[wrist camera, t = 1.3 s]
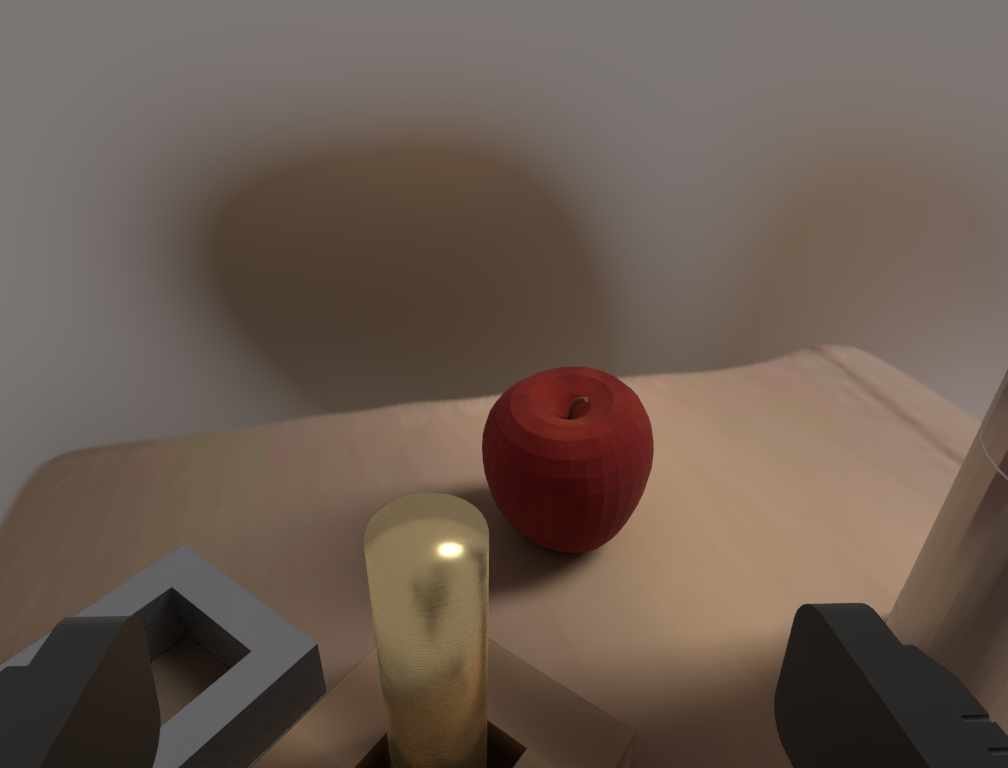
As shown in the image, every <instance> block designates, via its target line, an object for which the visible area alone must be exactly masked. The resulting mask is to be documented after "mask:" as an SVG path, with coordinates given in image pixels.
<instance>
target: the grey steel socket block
mask: <svg viewBox="0 0 1008 768" xmlns="http://www.w3.org/2000/svg"><path fill="white" fill-rule="evenodd" d="M98 616H137V617H138V618H139V619H140V620H141V622H142V624H143V627H144V631H145V636H146V641H147V647H148V652H149V657H150V662H151V661H153V660H154V659H155V658H156V657H158V656H159V655H160V654H162V653H163V652H164V651H166V650H167V649H168V648H170V647H171V646H172V645H174V644H175V643H176V642H178V641H179V640H180V639H182V638H183V637H184V636H185V635H187V634H189V635H190V636H192V637H193V638H194V639H195V640H196V641H197V642H199V643H200V644H201V645H202V646H203V647H205V648H206V649H207V650H208V651H209V652H210V653H212V654H213V655H214V656H215V657H216V658H218V659H219V660H220V661H221V662H222V663H224V664H225V665H226V666H227V667H228V668H229V669H230V670H229V671H227V672H226V673H225V674H224V675H223V676H221V677H220V678H219V679H218V680H217V681H215V682H214V683H213V684H212V685H211V686H209V687H208V688H207V689H206V690H205V691H203V692H202V693H201V694H200V695H199V696H197V697H196V698H195V699H194V700H193V701H191V702H190V703H189V704H188V705H187V706H185V707H184V708H183V709H182V710H181V711H179V712H178V713H177V714H176V715H175V716H173V717H172V718H171V719H170V720H169V721H168V722H166V723H165V724H164V725H163V726H162V727H160V737H159V744H158V749H157V754H156V758H155V761H154V765H153V768H246V767H247V766H248V765H249V764H250V763H251V762H252V761H254V760H255V759H256V758H257V757H258V756H259V755H260V754H261V753H262V752H263V751H264V750H265V749H266V748H267V747H268V746H269V745H270V744H271V743H272V742H273V741H274V740H275V739H276V738H277V737H278V736H280V735H281V734H282V733H283V732H284V731H285V730H286V729H287V728H288V727H289V726H290V725H291V724H292V723H293V722H294V721H295V720H296V719H297V718H298V717H299V716H300V715H301V714H302V713H303V712H305V711H306V710H307V709H308V708H309V707H310V706H311V705H312V704H313V703H314V702H315V701H316V700H317V699H318V698H319V697H320V696H321V695H322V694H323V693H324V692H325V691H326V686H325V680H324V675H323V670H322V665H321V660H320V655H319V650H318V645H317V643H316V642H315V641H313V640H312V639H311V638H309V637H308V636H307V635H305V634H304V633H303V632H301V631H300V630H299V629H297V628H296V627H295V626H293V625H292V624H291V623H289V622H288V621H286V620H285V619H284V618H282V617H281V616H280V615H278V614H277V613H276V612H274V611H273V610H272V609H270V608H269V607H268V606H266V605H265V604H264V603H262V602H261V601H260V600H258V599H257V598H256V597H254V596H253V595H252V594H250V593H249V592H248V591H246V590H245V589H244V588H242V587H241V586H240V585H238V584H237V583H236V582H234V581H233V580H232V579H230V578H229V577H228V576H226V575H225V574H224V573H222V572H221V571H220V570H218V569H217V568H216V567H214V566H213V565H212V564H210V563H209V562H208V561H206V560H205V559H204V558H202V557H201V556H200V555H198V554H197V553H196V552H194V551H193V550H192V549H190V548H189V547H188V546H186V545H185V544H183V545H182V546H180V547H179V548H177V549H176V550H174V551H173V552H171V553H170V554H168V555H167V556H165V557H164V558H162V559H161V560H159V561H157V562H156V563H154V564H153V565H151V566H150V567H148V568H147V569H145V570H144V571H142V572H141V573H139V574H138V575H136V576H135V577H133V578H132V579H130V580H129V581H127V582H126V583H124V584H123V585H121V586H120V587H118V588H117V589H115V590H114V591H112V592H111V593H109V594H108V595H106V596H105V597H103V598H102V599H100V600H99V601H97V602H96V603H94V604H92V605H91V606H89V607H88V608H86V609H85V610H83V611H82V612H80V613H79V614H77V615H76V616H74V617H98ZM50 633H51V632H50ZM50 633H49V634H47V635H46V636H44V637H43V638H41V639H40V640H38V641H37V642H35V643H34V644H32V645H30V646H29V647H27V648H26V649H24V650H23V651H21V652H20V653H18V654H17V655H15V656H14V657H12V658H11V659H9V660H8V661H6V662H5V663H3V664H2V665H0V671H2V670H3V669H4V668H5V667H7V666H28V665H29V663H30V662H31V660H32V659H33V657H34V656H35V655H36V653H37V652H38V650H39V649H40V647H41V646H42V645H43V643H44V642H45V640H46V639H47V637H48V636H49V635H50Z"/></svg>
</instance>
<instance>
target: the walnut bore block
mask: <svg viewBox="0 0 1008 768" xmlns="http://www.w3.org/2000/svg"><path fill="white" fill-rule="evenodd" d="M635 736H636V732H635V731H633V730H631V729H630V728H628V727H627V726H625V725H624V724H622V723H620V722H619V721H617V720H616V719H614V718H613V717H611V716H609V715H608V714H606V713H605V712H603V711H602V710H600V709H598V708H597V707H595V706H594V705H592V704H591V703H589V702H587V701H586V700H584V699H583V698H581V697H580V696H578V695H576V694H575V693H573V692H572V691H570V690H569V689H567V688H565V687H564V686H562V685H561V684H559V683H558V682H556V681H554V680H553V679H551V678H550V677H548V676H547V675H545V674H543V673H542V672H540V671H539V670H537V669H536V668H534V667H533V666H531V665H529V664H528V663H526V662H525V661H523V660H522V659H520V658H518V657H517V656H515V655H514V654H512V653H511V652H509V651H507V650H506V649H504V648H503V647H501V646H500V645H498V644H496V643H495V642H493V641H492V640H490V639H489V638H488V692H487V768H629V765H630V760H631V755H632V750H633V746H634V741H635ZM251 768H391V760H390V752H389V744H388V736H387V728H386V719H385V711H384V703H383V695H382V687H381V679H380V671H379V663H378V655H377V647H375V648H374V649H373V650H372V651H371V652H370V653H369V654H368V655H367V656H366V657H365V658H364V659H363V660H362V661H361V662H360V663H359V664H358V665H357V666H356V667H355V668H353V669H352V670H351V671H350V672H349V673H348V674H347V675H346V676H345V677H344V678H343V679H342V680H341V681H340V682H339V683H338V684H337V685H336V686H335V687H334V688H333V689H332V690H331V691H330V692H329V693H328V694H327V695H326V696H324V697H323V698H322V699H321V700H320V701H319V702H318V703H317V704H316V705H315V706H314V707H313V708H312V709H311V710H310V711H309V712H308V713H307V714H306V715H305V716H304V717H303V718H302V719H301V720H300V721H299V722H298V723H297V724H295V725H294V726H293V727H292V728H291V729H290V730H289V731H288V732H287V733H286V734H285V735H284V736H283V737H282V738H281V739H280V740H279V741H278V742H277V743H276V744H275V745H274V746H273V747H272V748H271V749H270V750H269V751H268V752H267V753H265V754H264V755H263V756H262V757H261V758H260V759H259V760H258V761H257V762H256V763H255V764H254V765H253V766H252V767H251Z"/></svg>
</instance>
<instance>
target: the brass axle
mask: <svg viewBox="0 0 1008 768" xmlns="http://www.w3.org/2000/svg"><path fill="white" fill-rule="evenodd" d="M363 541H364V551H365V559H366V567H367V575H368V583H369V591H370V599H371V607H372V615H373V623H374V631H375V639H376V647H377V655H378V663H379V671H380V679H381V687H382V695H383V703H384V711H385V719H386V728H387V736H388V744H389V752H390V760H391V768H487V692H488V597H489V528H488V525H487V522H486V520H485V518H484V516H483V515H482V513H481V512H480V511H479V510H478V509H477V508H476V507H475V506H474V505H472V504H471V503H469V502H468V501H466V500H464V499H462V498H460V497H457V496H454V495H450V494H445V493H437V492H424V493H416V494H411V495H407V496H404V497H401V498H399V499H396V500H394V501H392V502H390V503H388V504H387V505H385V506H384V507H382V508H381V509H380V510H379V511H378V512H377V513H376V514H375V515H374V516H373V517H372V518H371V520H370V521H369V523H368V525H367V527H366V530H365V533H364V540H363Z"/></svg>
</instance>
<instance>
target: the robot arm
mask: <svg viewBox="0 0 1008 768" xmlns="http://www.w3.org/2000/svg"><path fill="white" fill-rule="evenodd" d="M774 709H775V719H776V725H777V730H778V733H779V737H780V740H781V743H782V745H783V747H784V750H785V752H786V754H787V756H788V758H789V760H790V761H791V763H792V765H793V767H794V768H1008V369H1007V371H1006V373H1005V376H1004V378H1003V380H1002V382H1001V384H1000V386H999V388H998V390H997V392H996V394H995V396H994V398H993V401H992V403H991V405H990V407H989V409H988V411H987V413H986V415H985V417H984V419H983V421H982V424H981V427H980V429H979V431H978V433H977V435H976V437H975V439H974V441H973V443H972V445H971V447H970V450H969V452H968V454H967V456H966V458H965V460H964V462H963V464H962V466H961V468H960V470H959V472H958V475H957V477H956V479H955V481H954V483H953V485H952V487H951V489H950V491H949V493H948V495H947V497H946V500H945V502H944V504H943V506H942V508H941V510H940V512H939V514H938V516H937V518H936V520H935V522H934V525H933V527H932V529H931V531H930V533H929V535H928V537H927V539H926V541H925V543H924V545H923V547H922V549H921V552H920V554H919V556H918V558H917V560H916V562H915V564H914V566H913V568H912V570H911V572H910V574H909V577H908V579H907V581H906V583H905V585H904V587H903V589H902V590H901V592H900V595H899V597H898V599H897V601H896V603H895V605H894V607H893V609H892V611H891V613H890V615H889V618H888V620H887V622H886V624H885V622H884V621H883V620H882V619H881V618H880V616H879V615H878V614H877V613H876V612H875V611H874V610H873V609H872V608H871V607H870V606H868V605H866V604H864V603H832V604H804V605H802V606H801V607H800V608H799V609H798V610H797V612H796V614H795V617H794V621H793V625H792V629H791V633H790V637H789V641H788V645H787V649H786V653H785V657H784V661H783V665H782V669H781V673H780V677H779V681H778V685H777V689H776V693H775V702H774ZM159 737H160V710H159V704H158V699H157V694H156V689H155V683H154V678H153V673H152V668H151V662H150V657H149V652H148V647H147V641H146V636H145V631H144V627H143V624H142V622H141V620H140V619H139V618H138V617H137V616H98V617H68V618H65V619H63V620H61V621H60V622H59V623H58V624H57V625H56V626H55V628H54V629H53V630H52V632H51V633H50V635H49V636H48V637H47V639H46V640H45V642H44V643H43V645H42V646H41V647H40V649H39V650H38V652H37V653H36V655H35V656H34V657H33V659H32V660H31V662H30V663H29V665H28V666H7V667H5V668H4V669H3V670H2V671H0V768H153V765H154V761H155V758H156V754H157V749H158V744H159Z"/></svg>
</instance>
